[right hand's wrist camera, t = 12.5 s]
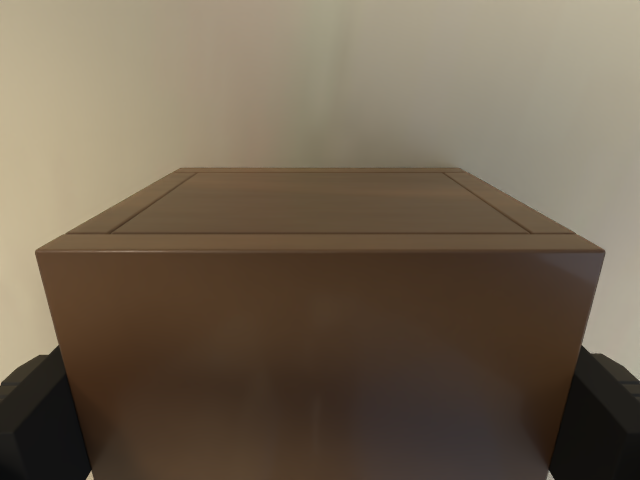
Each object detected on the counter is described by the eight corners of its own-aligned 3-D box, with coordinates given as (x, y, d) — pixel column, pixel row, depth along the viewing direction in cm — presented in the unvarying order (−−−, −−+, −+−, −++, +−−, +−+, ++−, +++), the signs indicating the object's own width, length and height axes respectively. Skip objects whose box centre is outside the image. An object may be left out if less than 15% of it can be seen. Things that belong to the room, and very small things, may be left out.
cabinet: (418, 520, 22) (474, 760, 14) (221, 520, 22) (165, 761, 14) (460, 167, 15) (608, 249, 8) (179, 167, 15) (32, 250, 8)
